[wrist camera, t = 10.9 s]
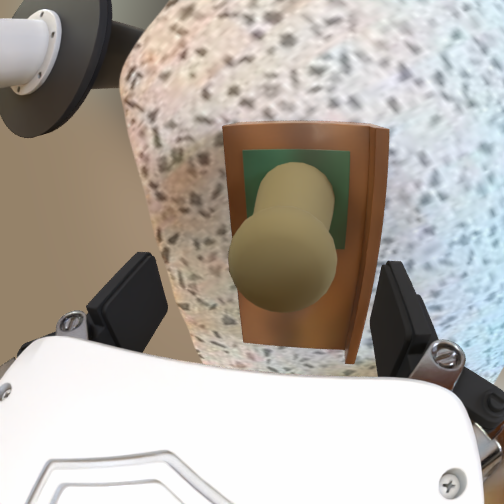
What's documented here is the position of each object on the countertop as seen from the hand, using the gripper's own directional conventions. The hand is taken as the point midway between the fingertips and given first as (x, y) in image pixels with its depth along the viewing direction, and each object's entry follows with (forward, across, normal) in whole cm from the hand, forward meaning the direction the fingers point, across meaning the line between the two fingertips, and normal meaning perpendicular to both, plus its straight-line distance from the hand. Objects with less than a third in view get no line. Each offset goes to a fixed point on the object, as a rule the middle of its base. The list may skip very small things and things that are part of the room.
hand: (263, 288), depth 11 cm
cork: (+12, -1, 0) cm, 12 cm away
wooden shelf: (+17, -1, +6) cm, 18 cm away
